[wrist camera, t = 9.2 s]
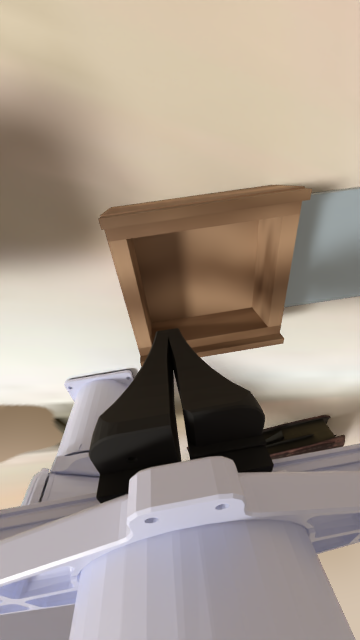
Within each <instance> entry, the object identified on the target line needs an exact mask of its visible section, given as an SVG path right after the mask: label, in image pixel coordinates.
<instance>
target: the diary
mask: <svg viewBox="0 0 360 640" xmlns="http://www.w3.org/2000/svg"><path fill="white" fill-rule="evenodd" d="M329 418H331V417H330V416H317V417H313V418H308V419H304V420H300V421H295V422H291V423H287V424H283V425H279V426H275V427H271V428H267V429H264V430H263V433H262V434H263V436H264V438H265V440H266V445H265V446H266V448H267V450H268V453H269V455H270V457H271V459H272V460H274V459H279V458H284V457H290V456H295V455H301V454H306V453H312V452H317V451H322V450H328V449H333V448H339V447H343V446H344V443H345V435H341V436H337V437H335V436H336V435H334V434H333V433H332V432H331V430H330V429H329V427H328V426H327V425H326V423H327V421H328V419H329ZM187 449H188V452H189V448H188V447H187Z"/></svg>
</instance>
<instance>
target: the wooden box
mask: <svg viewBox="0 0 360 640" xmlns="http://www.w3.org/2000/svg"><path fill="white" fill-rule="evenodd" d="M311 192H312V189H308V188H305V186H283V185H268V186H261V187H254V188H247V189H240V190H232V191H225V192H218V193H211V194H204V195H197V196H189V197H182V198H175V199H168V200H161V201H154V202H146V203H139V204H132V205H125V206H118V207H111V208H110V209H108V210H107V211H105V212H104V213H103V214H101V215H100V216H101V217H100V218H99V219H98V220H99V223H100V226H101V230H103V229H104V230H105V233H106V237H107V240H108V244H109V247H110V251H111V254H112V258H113V261H114V265H115V268H116V272H117V275H118V279H119V282H120V286H121V289H122V293H123V296H124V300H125V303H126V307H127V310H128V314H129V317H130V321H131V324H132V328H133V331H134V335H135V338H136V342H137V345H138V349H139V352H140V356H141V357H140V363H141V366H143V364H144V362H145V360H146V358H147V356H148V354H149V351H150V349H151V347H152V344H153V341H154V338H155V334H156V332H157V331H161V330H168V329H174V328H178V329H179V330H180V332H181V334H182V336H183V337H184V339H185V340H186V342H187V343H188V344H189V345H190V347H191V348H192V349H193V350H194V352H195V353H196V354H197V355H198V356H199V357H205V356H211V355H217V354H223V353H229V352H235V351H241V350H247V349H253V348H259V347H265V346H271V345H277V344H282V343H283V341H284V338H283V336H282V335H281V334H280V328H281V322H282V316H283V311H284V305H285V299H286V293H287V287H288V281H289V275H290V270H291V264H292V258H293V252H294V246H295V240H296V234H297V229H298V223H299V217H300V211H301V205H302V201H306V200H310V198H311Z"/></svg>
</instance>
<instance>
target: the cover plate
mask: <svg viewBox="0 0 360 640" xmlns="http://www.w3.org/2000/svg"><path fill="white" fill-rule="evenodd" d="M357 296H360V187H356V188H348V189H341V190H333V191H325V192H318V193H311V198H310V200H306V201H302V205H301V211H300V217H299V223H298V229H297V234H296V240H295V246H294V252H293V258H292V264H291V270H290V275H289V281H288V287H287V293H286V299H285V305H284V307H289V306H296V305H303V304H310V303H316V302H323V301H330V300H336V299H343V298H350V297H357Z"/></svg>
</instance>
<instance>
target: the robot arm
mask: <svg viewBox="0 0 360 640" xmlns="http://www.w3.org/2000/svg"><path fill="white" fill-rule="evenodd" d="M173 370H174V374H175V378H176V382H177V386H178V391H179V395H180V399H181V403H182V408H183V415H184V421H185V428H186V435H187V441H188V448H189V455H190V460H188V461H183V462H181V454H180V447H179V439H178V431H177V423H176V415H175V405H174V375H173ZM64 385H65V387H66V389H67V390H68V392H69V394H70V395H71V397H72V399H73V400H74V405H73V408H72V411H71V414H70V417H69V420H68V423H67V426H66V429H65V432H64V435H63V438H62V441H61V444H60V447H59V450H58V453H57V455H56V458H55V460H54V463H53V465H52V468H51V470H50V473H48V472H49V469H46V468H43V469H41V471H40V472H38V473H37V474H35V475H34V476H33V477H32V479H31V482H30V484H29V487H28V489H27V492H26V494H25V497H24V499H23V502H22V504H21V506H19V507H13V508H8V509H2V510H0V640H355V637H354V635H353V633H352V631H351V629H350V627H349V624H348V622H347V620H346V617H345V615H344V613H343V611H342V609H341V607H340V604H339V602H338V600H337V598H336V596H335V593H334V591H333V589H332V587H331V584H330V582H329V580H328V578H327V576H326V573H325V571H324V569H323V567H322V565H321V562H320V560H319V558H318V556H317V554H319V553H323V552H326V551H329V550H333V549H337V548H340V547H344V546H348V545H351V544H355V543H358V542H360V444H355V445H350V446H344V447H339V448H333V449H328V450H322V451H317V452H312V453H306V454H301V455H295V456H290V457H284V458H279V459H274V460H272V459H271V457H270V455H269V453H268V450H267V448H266V446H265V445H266V440H265V438H264V436H263V434H262V433H263V427H264V422H265V415H264V413H263V411H262V409H261V407H260V405H259V404H258V402H257V401H256V399H255V398H254V396H253V395H252V394H251V392H250V391H248V390H246V389H244V388H242V387H240V386H238V385H236V384H234V383H233V382H231V381H229V380H228V379H226V378H225V377H223V376H222V375H220V374H219V373H218V372H216V371H215V370H214V369H212V368H211V367H210V366H209V365H208V364H206V363H205V362H204V361H203V360H202V359H201V358H200V357H199V356H198V355H197V354H196V353H195V352H194V350H193V349H192V348H191V347H190V345H189V344H188V343H187V342H186V340H185V339H184V337H183V336H182V334H181V332H180V330H179V329H178V328H174V329H168V330H161V331H157V332H156V334H155V338H154V341H153V344H152V347H151V349H150V351H149V354H148V356H147V358H146V360H145V362H144V364H143V366H142V367H141V369H140V371H139V372H138V374H137V375H136V377H135V378H133V375H132V372H131V371H129V370H125V371H119V372H113V373H107V374H101V375H95V376H89V377H83V378H77V379H71V380H67V381H65V384H64ZM70 386H71V387H70Z"/></svg>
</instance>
